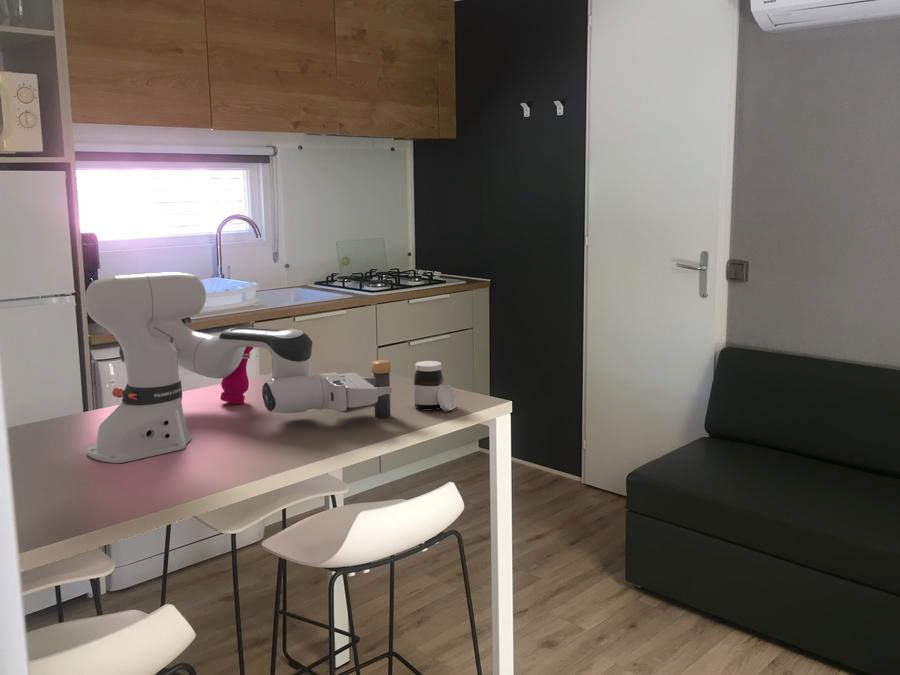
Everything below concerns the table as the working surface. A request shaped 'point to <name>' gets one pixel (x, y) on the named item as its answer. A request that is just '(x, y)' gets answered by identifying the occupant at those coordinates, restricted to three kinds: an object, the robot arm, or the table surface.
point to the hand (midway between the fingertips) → (384, 385)
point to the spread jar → (432, 387)
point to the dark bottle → (380, 380)
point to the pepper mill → (236, 381)
